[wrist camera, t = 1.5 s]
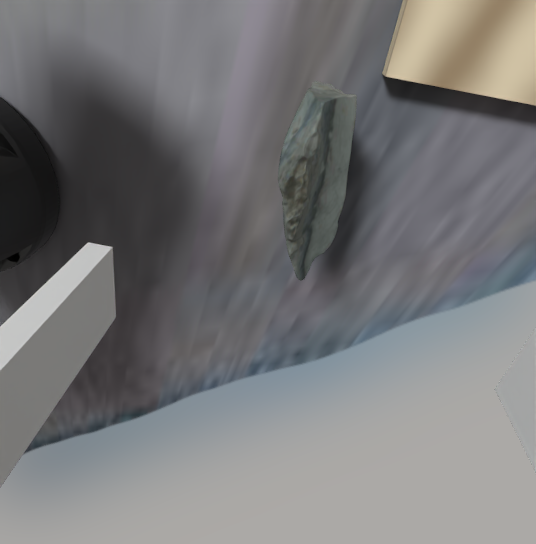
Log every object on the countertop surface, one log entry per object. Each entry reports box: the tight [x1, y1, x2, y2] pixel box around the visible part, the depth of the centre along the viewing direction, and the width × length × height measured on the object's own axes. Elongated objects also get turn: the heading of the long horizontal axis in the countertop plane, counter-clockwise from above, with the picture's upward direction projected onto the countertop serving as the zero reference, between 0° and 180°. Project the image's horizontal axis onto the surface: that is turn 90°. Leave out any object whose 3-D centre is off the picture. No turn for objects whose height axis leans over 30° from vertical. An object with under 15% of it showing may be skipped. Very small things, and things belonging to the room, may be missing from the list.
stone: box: [278, 81, 356, 280], centre depth 24 cm, size 11×4×10 cm, turn 175°
